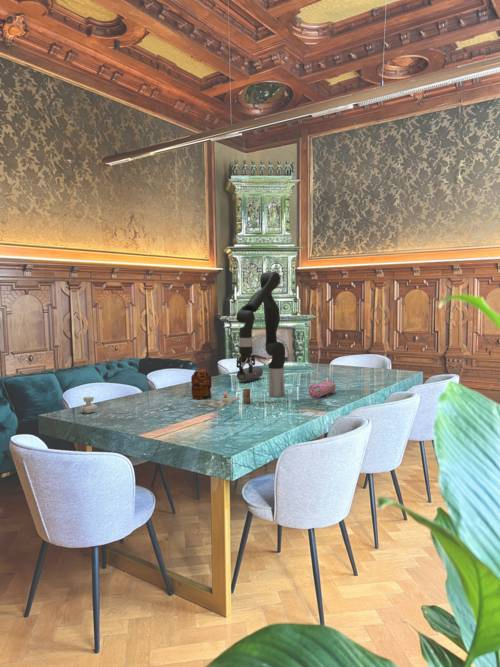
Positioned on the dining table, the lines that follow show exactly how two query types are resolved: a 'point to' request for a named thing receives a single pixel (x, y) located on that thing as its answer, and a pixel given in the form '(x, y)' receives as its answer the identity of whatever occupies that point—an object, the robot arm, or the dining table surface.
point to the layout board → (216, 403)
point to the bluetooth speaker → (250, 374)
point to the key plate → (229, 397)
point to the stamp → (88, 405)
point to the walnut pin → (246, 396)
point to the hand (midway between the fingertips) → (246, 374)
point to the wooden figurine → (201, 384)
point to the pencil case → (322, 389)
